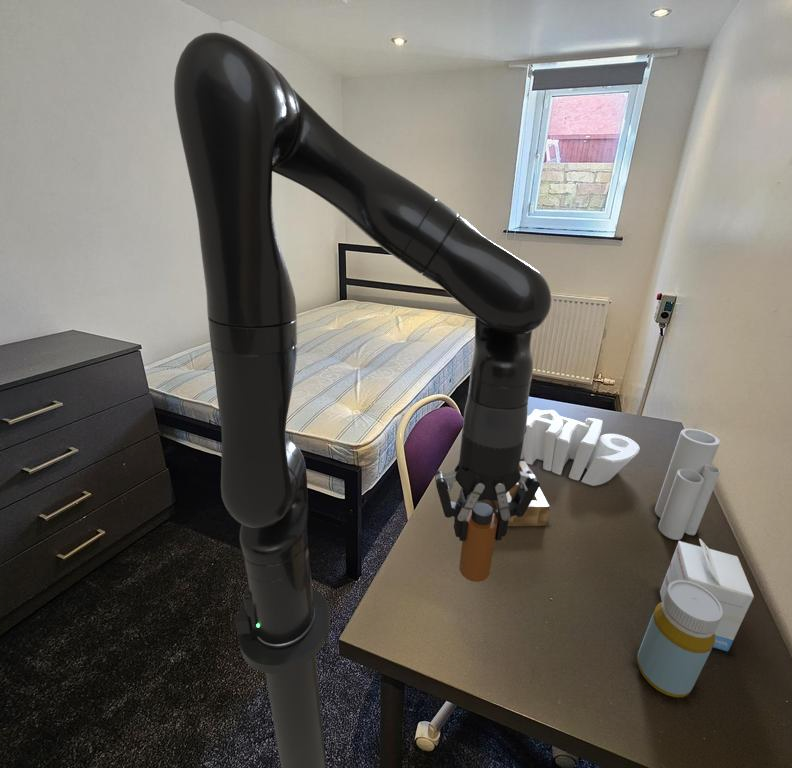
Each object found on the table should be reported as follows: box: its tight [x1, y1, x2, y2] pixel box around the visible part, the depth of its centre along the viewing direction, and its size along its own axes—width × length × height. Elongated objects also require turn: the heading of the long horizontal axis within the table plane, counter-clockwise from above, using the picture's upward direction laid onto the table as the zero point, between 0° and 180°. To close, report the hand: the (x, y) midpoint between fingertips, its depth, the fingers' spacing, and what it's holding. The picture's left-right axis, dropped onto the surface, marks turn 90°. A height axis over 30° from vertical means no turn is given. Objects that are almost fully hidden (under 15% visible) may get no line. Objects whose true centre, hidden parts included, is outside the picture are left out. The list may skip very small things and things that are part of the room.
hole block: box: [493, 460, 551, 527], centre depth 92 cm, size 9×16×5 cm, turn 4°
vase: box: [654, 428, 721, 541], centre depth 84 cm, size 11×7×20 cm, turn 160°
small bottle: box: [458, 502, 498, 583], centre depth 58 cm, size 4×4×11 cm
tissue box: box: [659, 538, 755, 652], centre depth 64 cm, size 9×8×13 cm
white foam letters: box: [520, 408, 640, 487], centre depth 107 cm, size 35×16×11 cm, turn 55°
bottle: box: [636, 580, 723, 698], centre depth 56 cm, size 7×7×15 cm
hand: (478, 535), depth 57 cm, fingers closed on small bottle, 4 cm apart
